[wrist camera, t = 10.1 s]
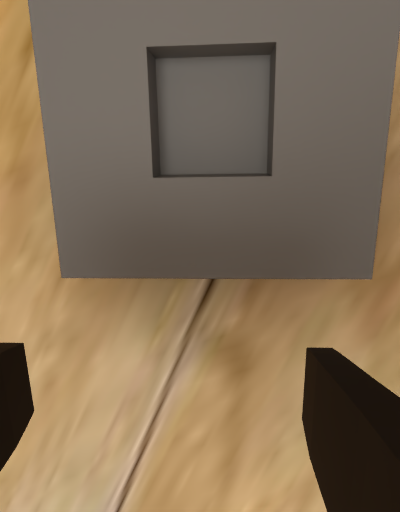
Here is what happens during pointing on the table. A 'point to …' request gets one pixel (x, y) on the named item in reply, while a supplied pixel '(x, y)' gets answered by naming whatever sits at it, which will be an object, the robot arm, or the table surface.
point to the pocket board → (216, 134)
